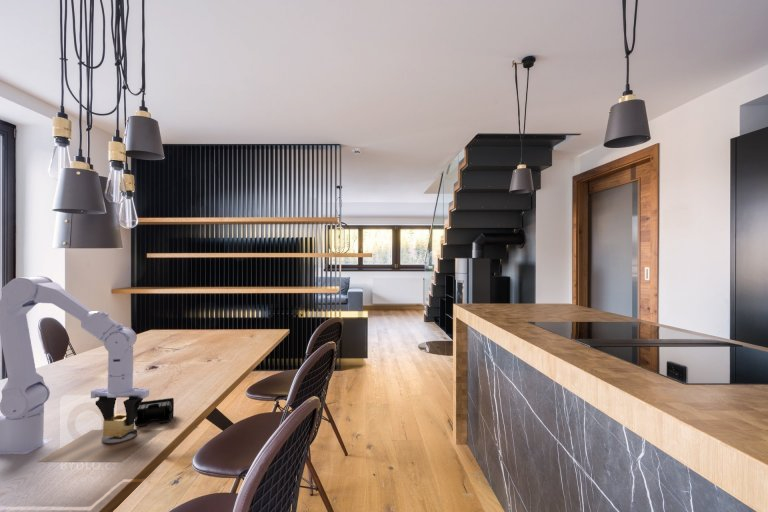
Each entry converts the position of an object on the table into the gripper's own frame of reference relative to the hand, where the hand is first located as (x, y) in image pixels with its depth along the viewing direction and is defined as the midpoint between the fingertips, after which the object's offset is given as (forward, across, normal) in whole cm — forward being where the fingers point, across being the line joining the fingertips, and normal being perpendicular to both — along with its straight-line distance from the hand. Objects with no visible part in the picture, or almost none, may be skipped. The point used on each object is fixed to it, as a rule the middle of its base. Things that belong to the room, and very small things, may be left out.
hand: (119, 424), depth 107 cm
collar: (+2, 0, 0) cm, 2 cm away
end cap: (+4, +3, +11) cm, 12 cm away
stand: (+4, 0, 0) cm, 4 cm away
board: (+4, -1, -4) cm, 6 cm away
